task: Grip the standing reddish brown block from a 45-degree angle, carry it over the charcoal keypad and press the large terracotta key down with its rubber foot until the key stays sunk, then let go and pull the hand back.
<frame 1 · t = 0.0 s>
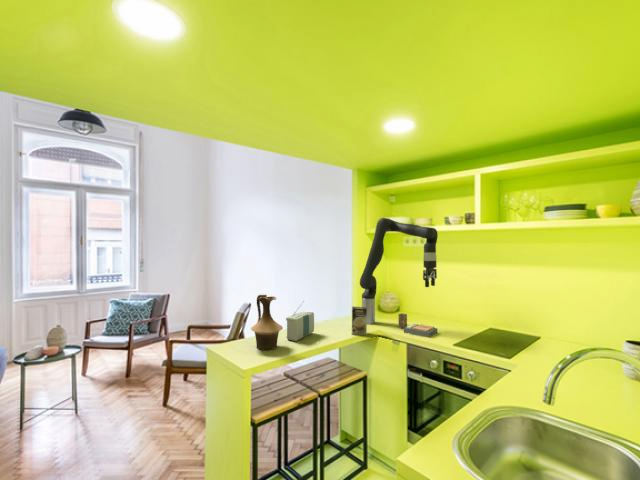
hand: (430, 286, 196), 29 cm above the worktop, tool pointing down, fingers open, 8 cm apart
reddish brown block: (402, 327, 211), on the worktop
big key: (423, 328, 198), point 3 cm above the worktop, slide at 0.0 cm
pitcher: (266, 347, 171), on the worktop
coffee box: (359, 334, 197), on the worktop
keypad: (420, 332, 199), on the worktop
stereo radio cassette player: (300, 337, 191), on the worktop
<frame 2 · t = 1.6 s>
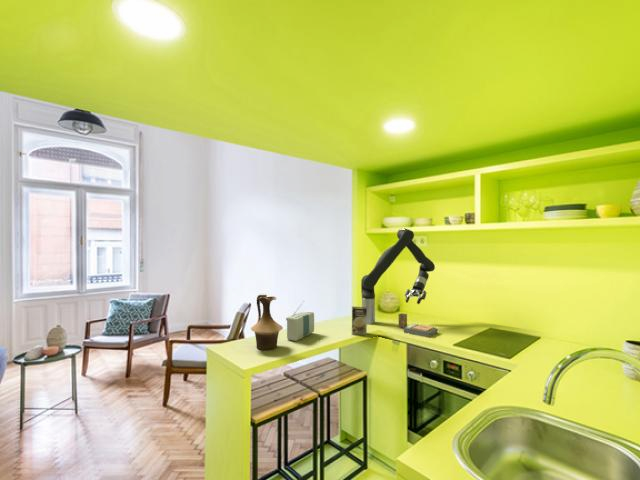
hand: (412, 302, 220), 15 cm above the worktop, tool tilted 45°, fingers open, 8 cm apart
nothing on the worktop moved.
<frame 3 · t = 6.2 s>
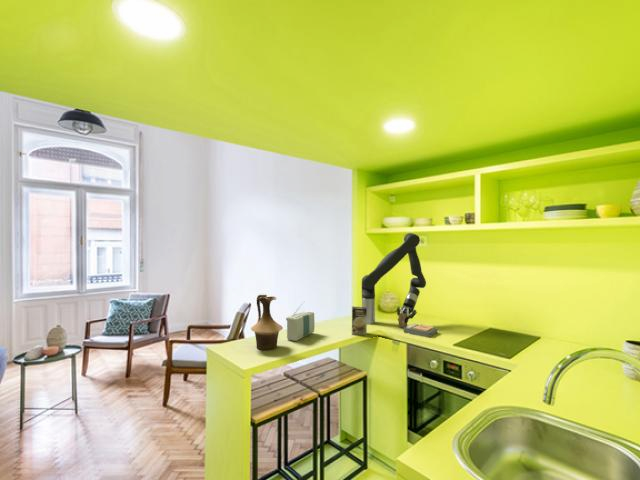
hand: (402, 321, 210), 4 cm above the worktop, tool tilted 45°, fingers closed on reddish brown block, 4 cm apart
reddish brown block: (402, 327, 211), on the worktop, touching gripper
everything else where it was.
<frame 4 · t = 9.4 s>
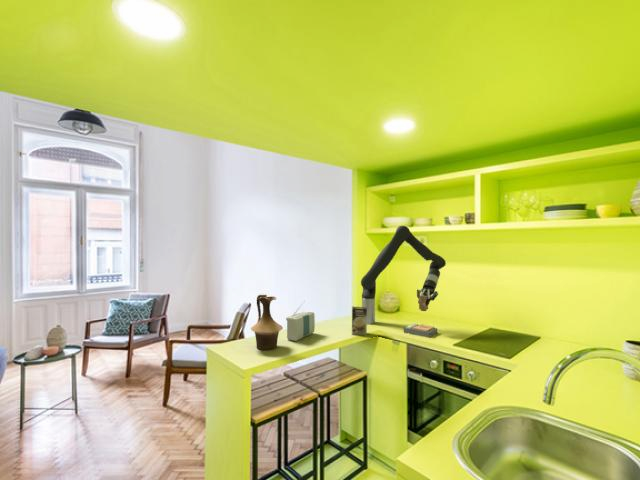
hand: (422, 304, 197), 18 cm above the worktop, tool tilted 45°, fingers closed on reddish brown block, 4 cm apart
reddish brown block: (423, 310, 198), point 14 cm above the worktop, touching gripper
everything else where it was.
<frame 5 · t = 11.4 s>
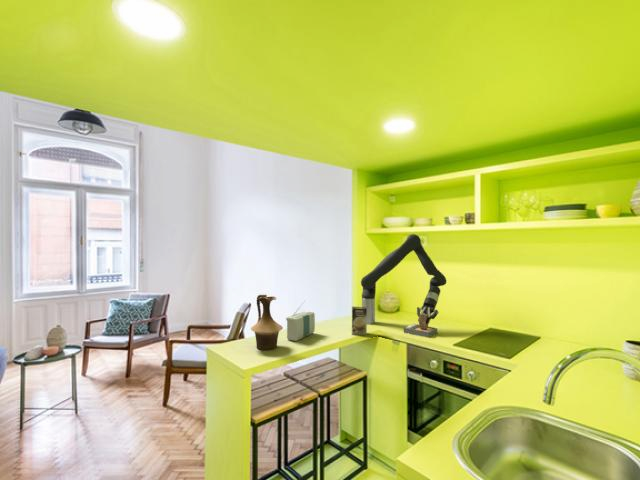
hand: (423, 322, 197), 7 cm above the worktop, tool tilted 45°, fingers closed on reddish brown block, 4 cm apart
reddish brown block: (423, 329, 198), point 3 cm above the worktop, touching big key, gripper
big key: (423, 330, 198), point 2 cm above the worktop, slide at 1.3 cm, touching reddish brown block
everything else where it was.
when the fingers open (7 cm above the worktop, at t = 12.7 s): reddish brown block stays where it is, point 3 cm above the worktop.
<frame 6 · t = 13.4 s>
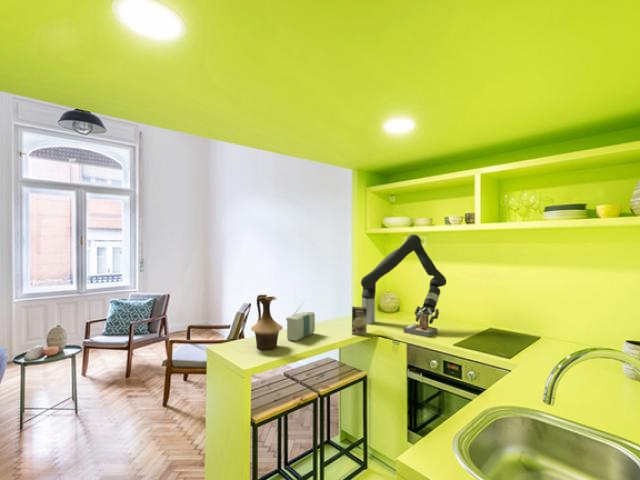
hand: (423, 322, 198), 7 cm above the worktop, tool tilted 45°, fingers open, 8 cm apart
reddish brown block: (423, 329, 198), point 3 cm above the worktop
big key: (423, 330, 198), point 2 cm above the worktop, slide at 1.3 cm, touching keypad
everything else where it was.
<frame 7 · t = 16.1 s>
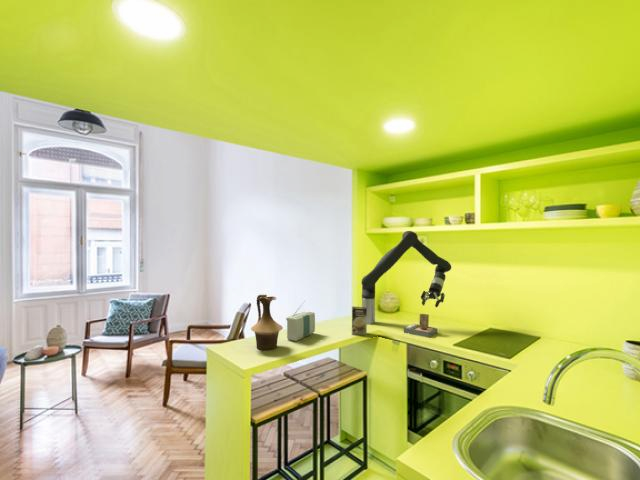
hand: (429, 305, 204), 16 cm above the worktop, tool tilted 45°, fingers open, 8 cm apart
reddish brown block: (423, 329, 198), point 3 cm above the worktop, touching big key
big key: (423, 330, 198), point 2 cm above the worktop, slide at 1.3 cm, touching keypad, reddish brown block
everything else where it was.
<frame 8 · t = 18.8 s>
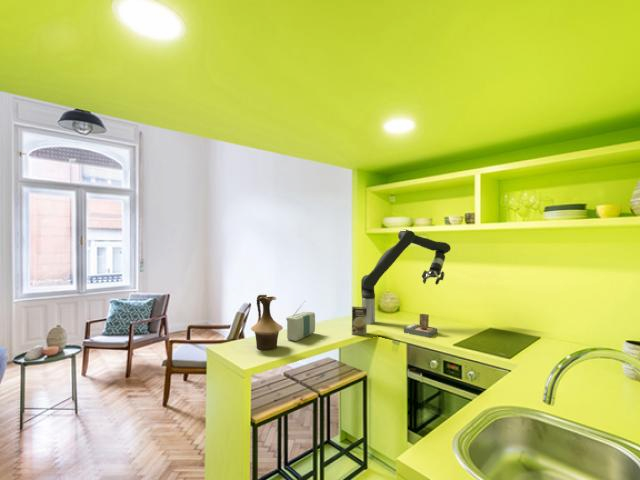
hand: (430, 283, 217), 29 cm above the worktop, tool tilted 45°, fingers open, 8 cm apart
nothing on the worktop moved.
at the end: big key slide at 1.3 cm; reddish brown block 0.2 cm from the target spot on the keypad, point 2.6 cm above the keypad's base; reddish brown block tilted 4° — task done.
